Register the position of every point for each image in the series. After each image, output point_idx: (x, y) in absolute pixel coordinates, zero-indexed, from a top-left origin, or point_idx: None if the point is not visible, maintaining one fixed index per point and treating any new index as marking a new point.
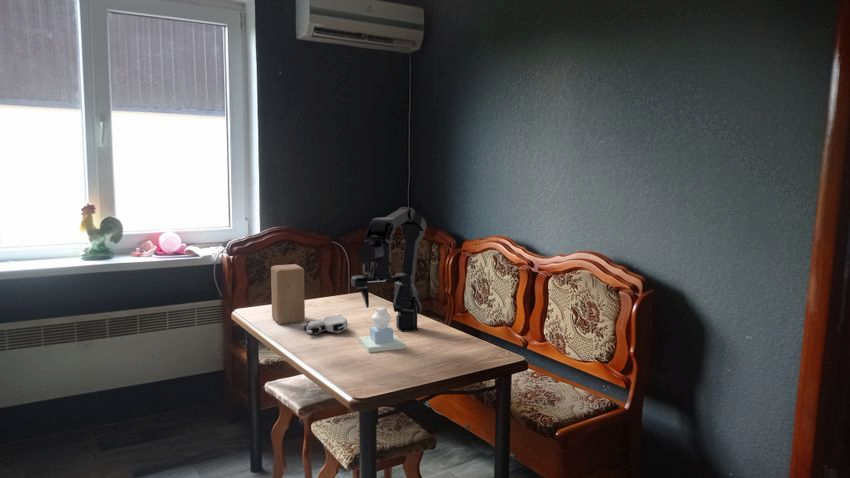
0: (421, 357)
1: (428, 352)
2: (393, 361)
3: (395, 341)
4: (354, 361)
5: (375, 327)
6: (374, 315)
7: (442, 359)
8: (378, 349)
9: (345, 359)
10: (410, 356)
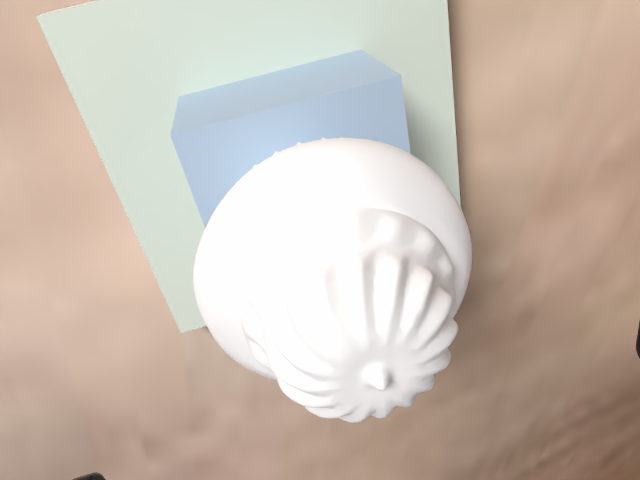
0: (497, 375)
1: (565, 302)
2: (336, 433)
3: None
4: (107, 450)
5: (241, 169)
6: (237, 340)
7: (585, 394)
8: None
9: (38, 428)
10: None
